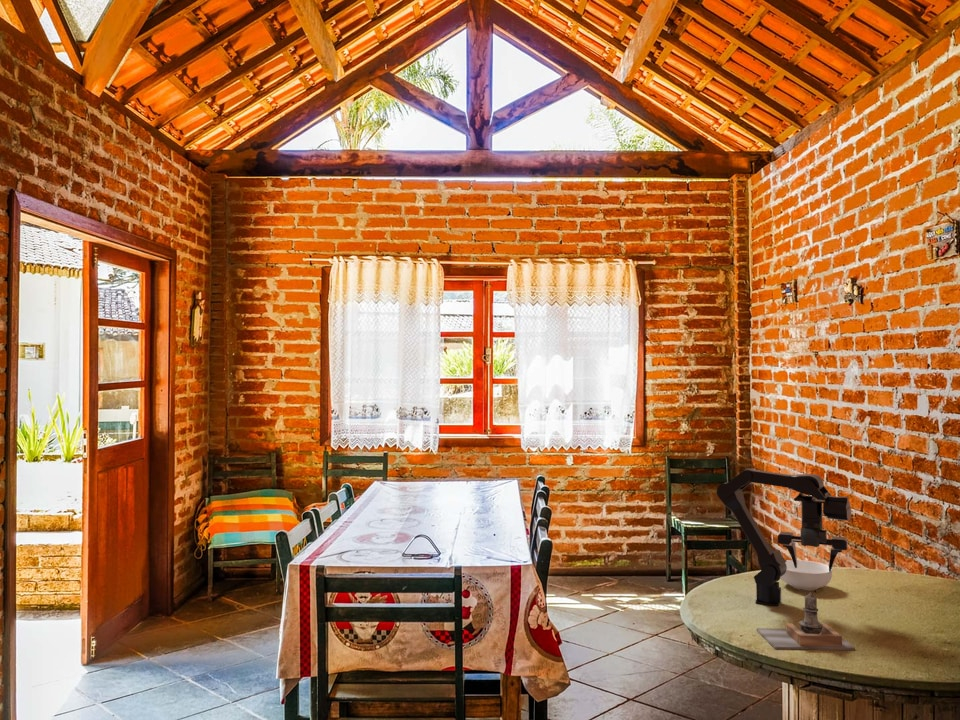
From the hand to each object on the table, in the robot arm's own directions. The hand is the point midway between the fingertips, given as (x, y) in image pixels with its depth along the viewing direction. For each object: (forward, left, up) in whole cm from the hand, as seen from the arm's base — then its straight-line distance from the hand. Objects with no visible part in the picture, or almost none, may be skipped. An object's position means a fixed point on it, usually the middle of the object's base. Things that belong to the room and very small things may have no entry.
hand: (812, 569), depth 219 cm
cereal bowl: (-5, +26, -12) cm, 29 cm away
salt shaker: (+2, -28, -12) cm, 30 cm away
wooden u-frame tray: (0, -29, -12) cm, 31 cm away
